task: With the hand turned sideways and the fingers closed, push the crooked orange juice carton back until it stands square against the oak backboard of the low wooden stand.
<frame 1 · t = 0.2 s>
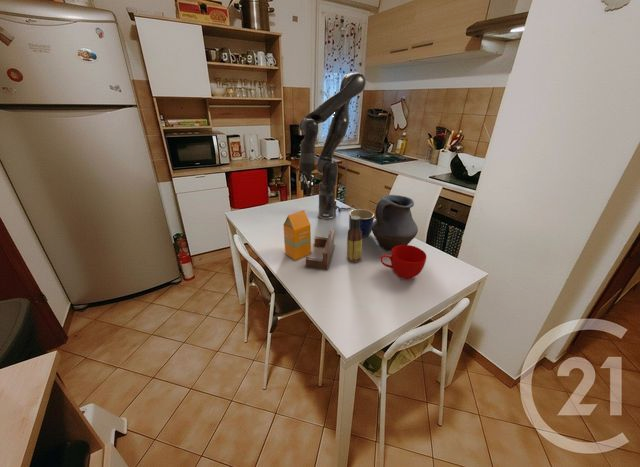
hand: (305, 191, 141), 17 cm above the table, tool pointing down, fingers open, 8 cm apart
pitcher: (390, 247, 124), on the table
wooden stand: (328, 256, 116), on the table
ceramic cup: (399, 274, 105), on the table
orange juice: (298, 253, 118), on the table
planter: (360, 233, 136), on the table
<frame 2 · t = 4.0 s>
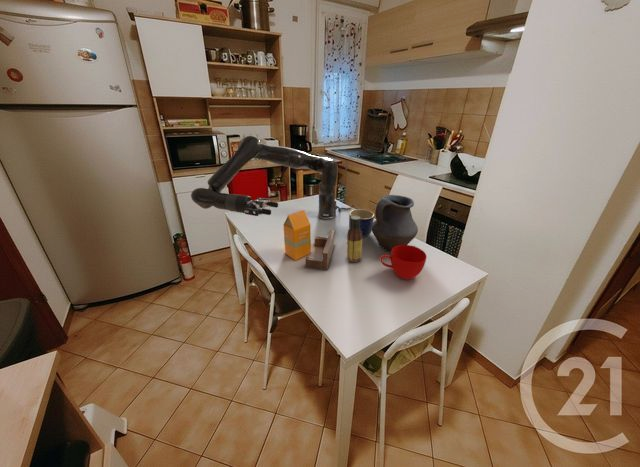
hand: (274, 208, 110), 21 cm above the table, tool horizontal, fingers open, 8 cm apart
nothing on the table moved.
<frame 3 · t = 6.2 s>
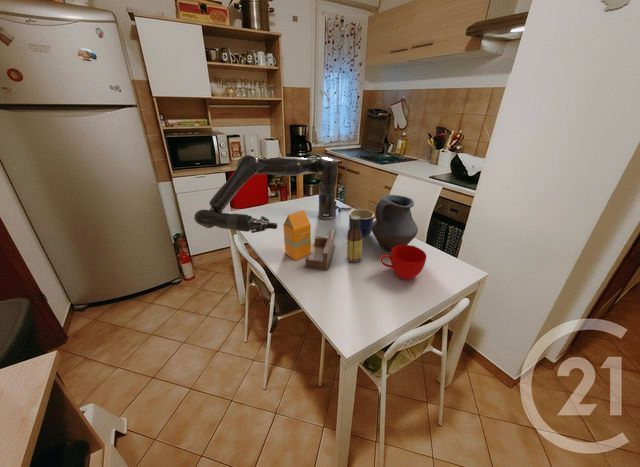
hand: (276, 226, 114), 13 cm above the table, tool horizontal, fingers closed
nothing on the table moved.
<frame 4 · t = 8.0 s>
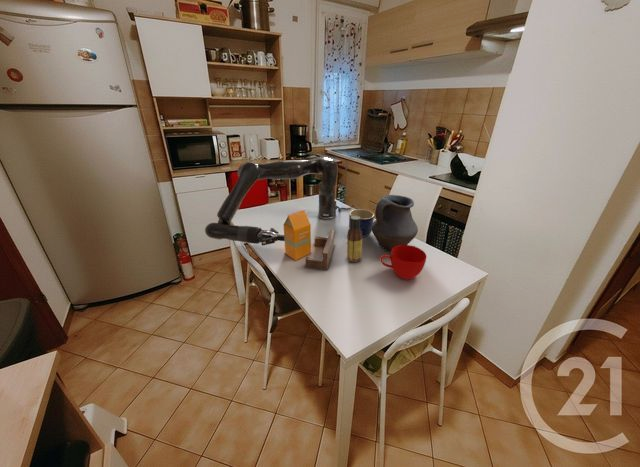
hand: (286, 238, 116), 7 cm above the table, tool horizontal, fingers closed
orange juice: (298, 253, 118), on the table, touching gripper
everything else where it was.
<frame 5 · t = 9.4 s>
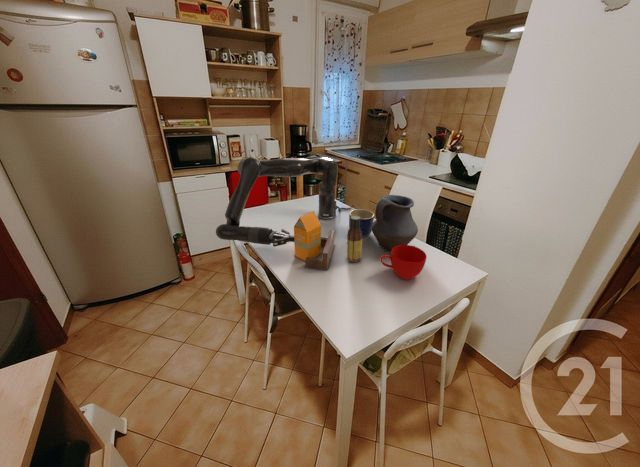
hand: (297, 239, 115), 7 cm above the table, tool horizontal, fingers closed
orange juice: (307, 255, 117), on the table, touching gripper
everything else where it was.
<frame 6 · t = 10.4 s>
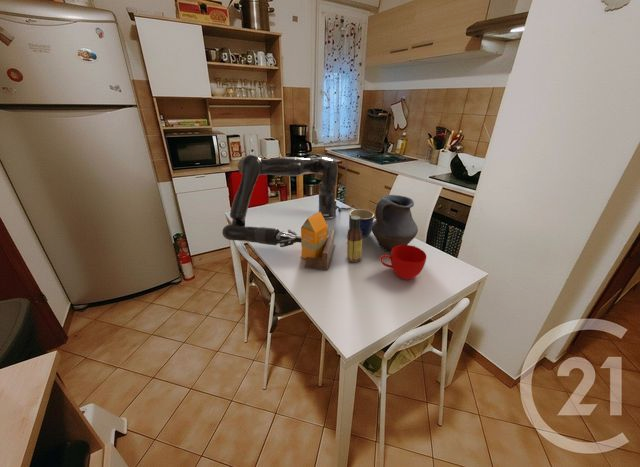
hand: (304, 239, 114), 7 cm above the table, tool horizontal, fingers closed
orange juice: (314, 256, 117), on the table, touching gripper, wooden stand
everything else where it was.
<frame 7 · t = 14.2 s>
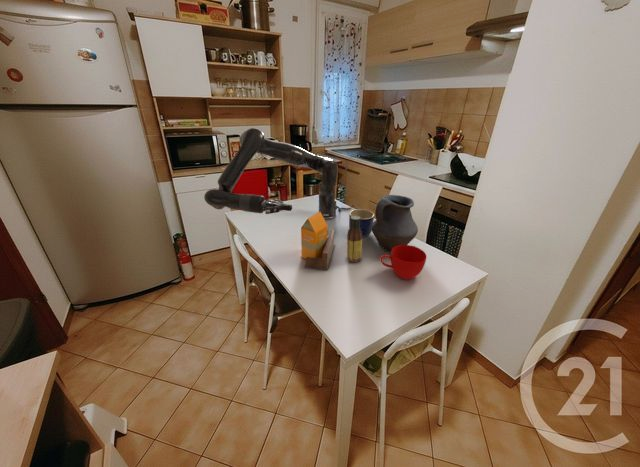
hand: (291, 207, 109), 22 cm above the table, tool horizontal, fingers closed
orange juice: (314, 256, 117), on the table, touching wooden stand
everything else where it was.
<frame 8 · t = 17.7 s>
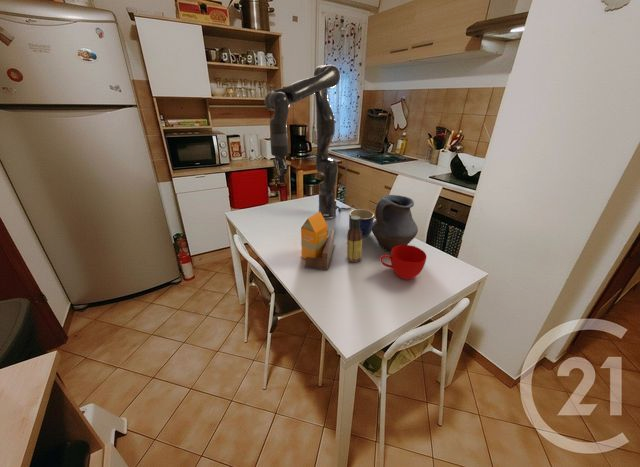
hand: (281, 182, 123), 27 cm above the table, tool pointing down, fingers closed
nothing on the table moved.
at the end: orange juice 0.5 cm from the target spot on the wooden stand, point 0.0 cm above the wooden stand's base; orange juice tilted 0° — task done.
